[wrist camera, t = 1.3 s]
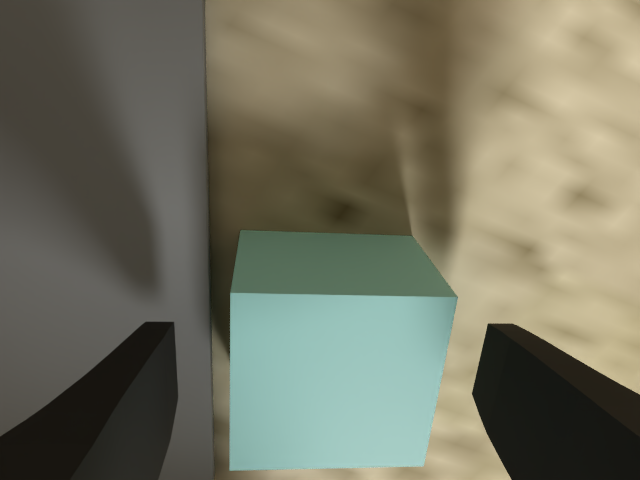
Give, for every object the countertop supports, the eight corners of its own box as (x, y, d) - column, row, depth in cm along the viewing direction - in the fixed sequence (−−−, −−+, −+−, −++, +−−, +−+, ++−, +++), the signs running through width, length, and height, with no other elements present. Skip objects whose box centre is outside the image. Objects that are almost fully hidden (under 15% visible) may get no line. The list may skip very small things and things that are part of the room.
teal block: (389, 372, 15) (423, 466, 11) (238, 372, 14) (229, 470, 11) (410, 234, 13) (457, 297, 10) (240, 227, 12) (230, 293, 9)
